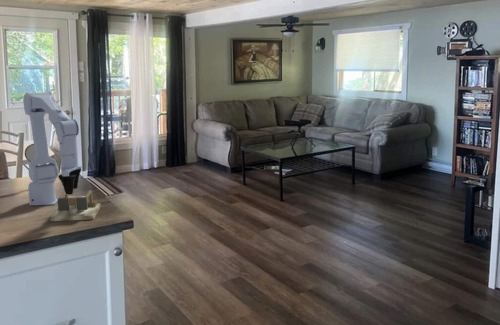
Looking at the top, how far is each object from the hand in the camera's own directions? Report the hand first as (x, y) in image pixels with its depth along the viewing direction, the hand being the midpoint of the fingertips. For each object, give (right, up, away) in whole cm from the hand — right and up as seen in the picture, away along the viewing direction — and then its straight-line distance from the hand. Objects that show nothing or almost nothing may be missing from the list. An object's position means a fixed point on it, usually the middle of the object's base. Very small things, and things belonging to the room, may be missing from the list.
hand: (71, 191), depth 172 cm
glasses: (-1, -6, +6) cm, 8 cm away
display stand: (-1, -9, +6) cm, 11 cm away
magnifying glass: (-31, -1, +43) cm, 53 cm away
